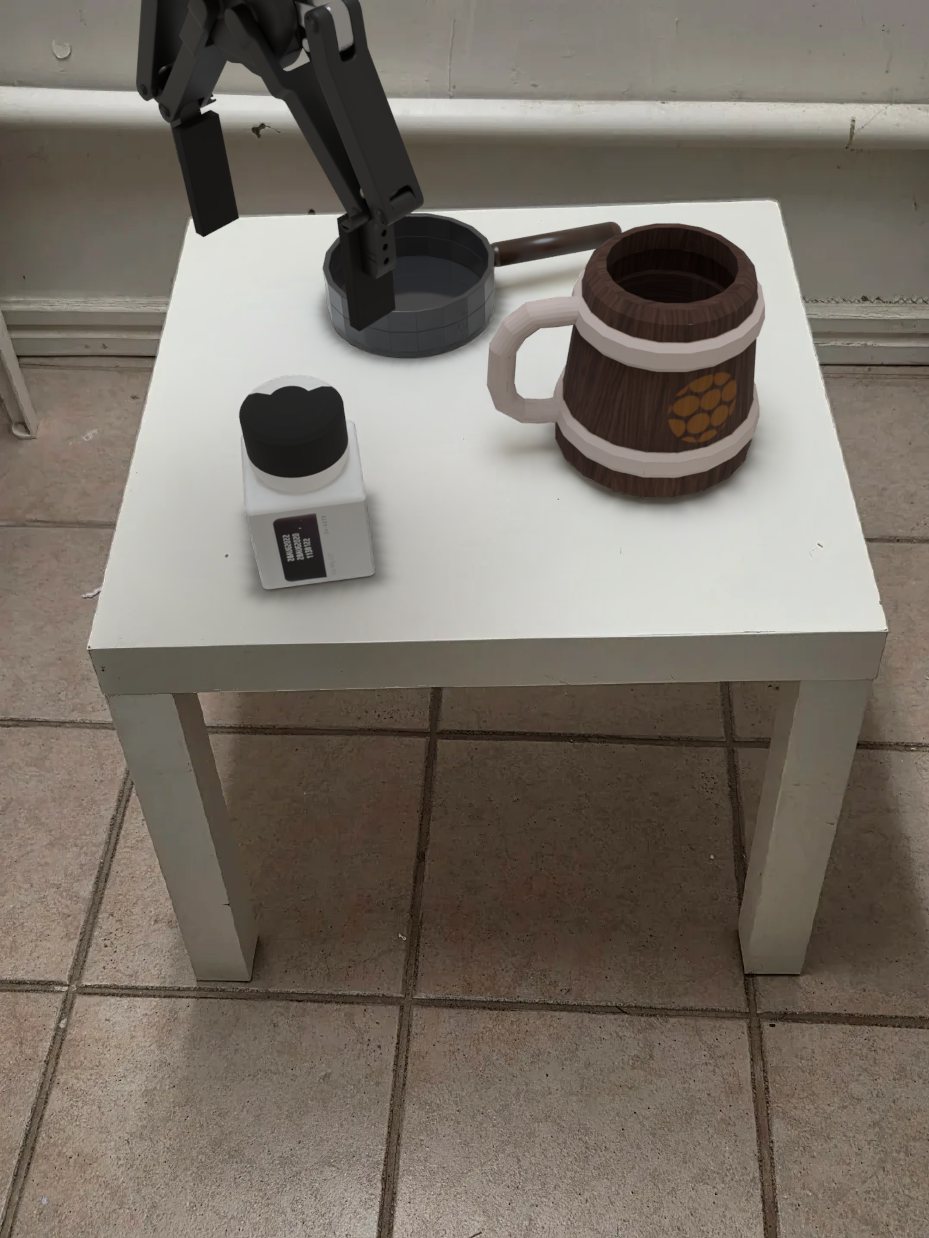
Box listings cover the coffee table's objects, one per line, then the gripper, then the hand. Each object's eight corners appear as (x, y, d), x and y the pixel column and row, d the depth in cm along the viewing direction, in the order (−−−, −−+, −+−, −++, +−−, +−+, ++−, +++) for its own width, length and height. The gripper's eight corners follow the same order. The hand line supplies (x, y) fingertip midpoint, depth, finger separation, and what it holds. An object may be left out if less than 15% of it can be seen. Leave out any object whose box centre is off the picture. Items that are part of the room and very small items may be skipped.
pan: (347, 372, 96) (341, 325, 92) (316, 274, 104) (309, 229, 101) (515, 339, 98) (515, 293, 94) (469, 247, 106) (468, 201, 103)
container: (376, 577, 81) (357, 433, 71) (263, 592, 81) (228, 449, 71) (364, 499, 86) (346, 353, 76) (258, 512, 86) (225, 368, 76)
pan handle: (488, 274, 99) (488, 253, 98) (482, 260, 101) (481, 239, 99) (624, 248, 101) (626, 228, 100) (616, 236, 102) (618, 215, 101)
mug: (724, 364, 95) (754, 192, 83) (777, 496, 85) (818, 323, 74) (476, 388, 94) (471, 217, 82) (501, 524, 84) (499, 353, 73)
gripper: (491, -110, 48) (496, 328, 64) (125, -230, 59) (208, 167, 75) (353, -50, 44) (395, 396, 61) (-7, -190, 56) (110, 217, 72)
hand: (291, 270), depth 68 cm, fingers open, 13 cm apart
